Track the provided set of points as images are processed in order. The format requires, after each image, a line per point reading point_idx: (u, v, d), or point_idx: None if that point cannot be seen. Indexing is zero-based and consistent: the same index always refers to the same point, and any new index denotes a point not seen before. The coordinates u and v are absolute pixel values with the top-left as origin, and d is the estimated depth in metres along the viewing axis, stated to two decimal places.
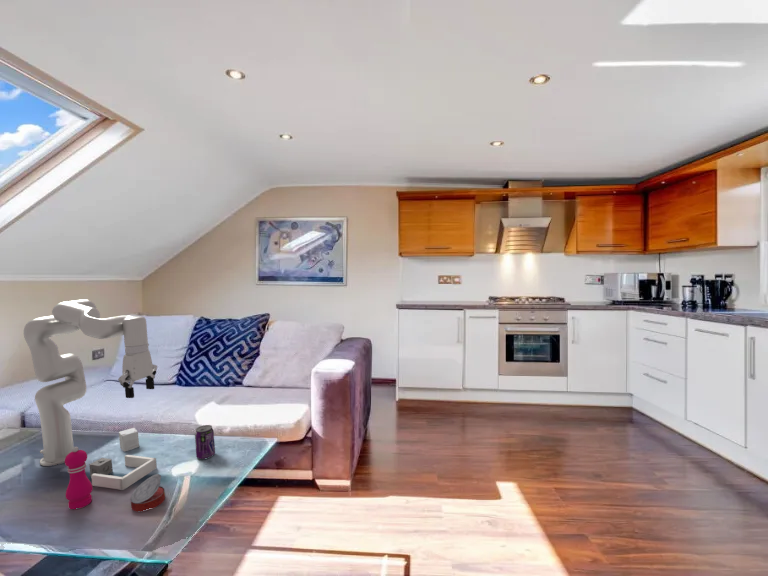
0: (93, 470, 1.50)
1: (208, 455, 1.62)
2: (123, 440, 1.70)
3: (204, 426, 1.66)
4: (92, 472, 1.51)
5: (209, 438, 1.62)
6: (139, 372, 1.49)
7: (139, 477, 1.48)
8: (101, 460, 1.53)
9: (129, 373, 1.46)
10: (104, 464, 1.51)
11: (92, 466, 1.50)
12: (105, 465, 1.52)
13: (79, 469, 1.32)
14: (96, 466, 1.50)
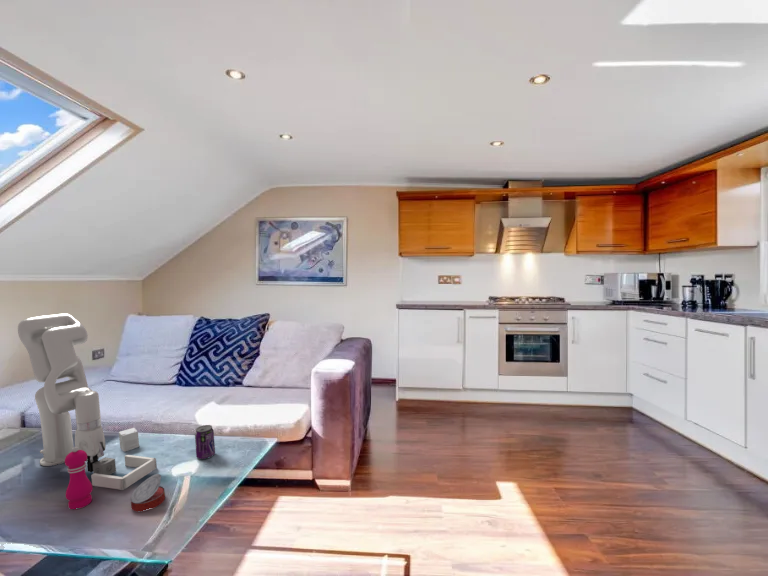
0: (96, 470, 1.51)
1: (208, 455, 1.62)
2: (123, 440, 1.70)
3: (204, 426, 1.66)
4: (95, 472, 1.51)
5: (209, 438, 1.62)
6: None
7: (139, 477, 1.48)
8: (104, 460, 1.54)
9: (103, 444, 1.52)
10: (107, 463, 1.51)
11: (95, 466, 1.50)
12: (108, 464, 1.52)
13: (79, 469, 1.32)
14: (99, 465, 1.50)
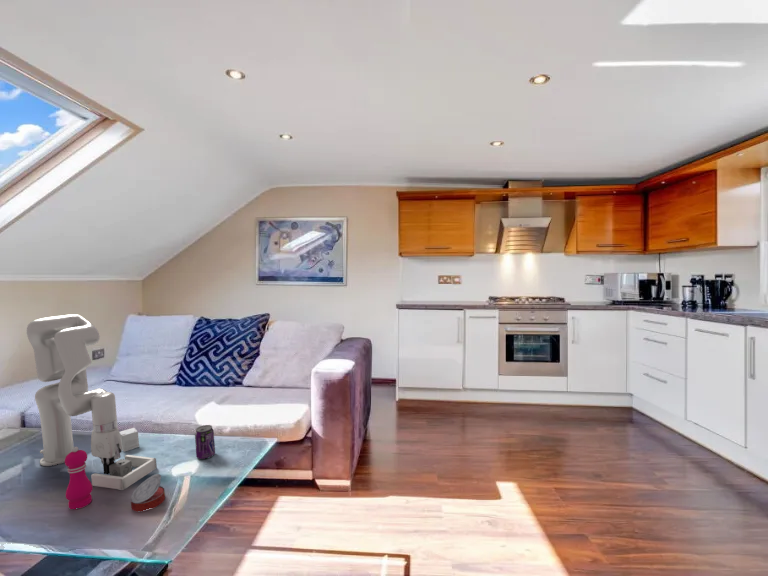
0: (113, 472, 1.49)
1: (208, 455, 1.62)
2: (123, 440, 1.70)
3: (204, 426, 1.66)
4: (112, 474, 1.49)
5: (209, 438, 1.62)
6: None
7: (139, 477, 1.48)
8: (121, 461, 1.52)
9: (119, 446, 1.50)
10: (124, 465, 1.50)
11: (112, 468, 1.49)
12: (125, 466, 1.50)
13: (79, 469, 1.32)
14: (116, 467, 1.48)
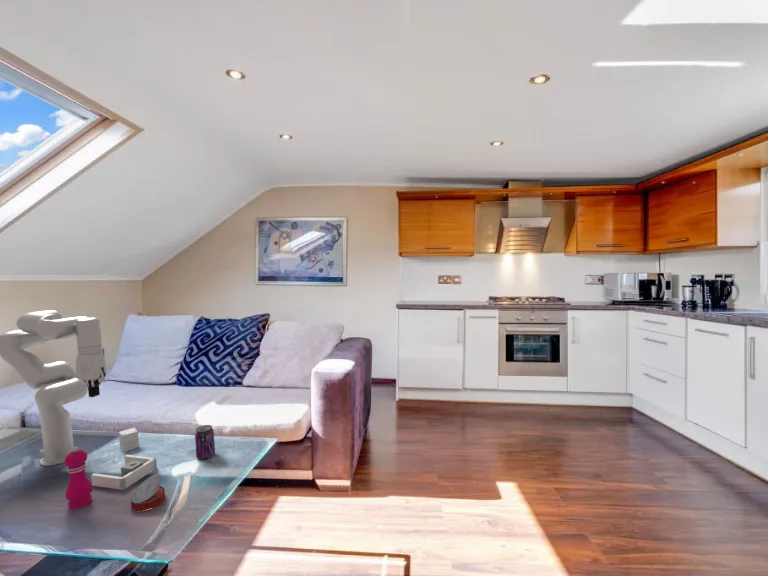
0: (125, 473, 1.47)
1: (208, 455, 1.62)
2: (123, 440, 1.70)
3: (204, 426, 1.66)
4: (124, 475, 1.48)
5: (209, 438, 1.62)
6: None
7: (139, 477, 1.48)
8: (132, 463, 1.50)
9: (104, 369, 1.54)
10: (136, 467, 1.49)
11: (124, 469, 1.47)
12: None
13: (79, 469, 1.32)
14: (128, 469, 1.47)
